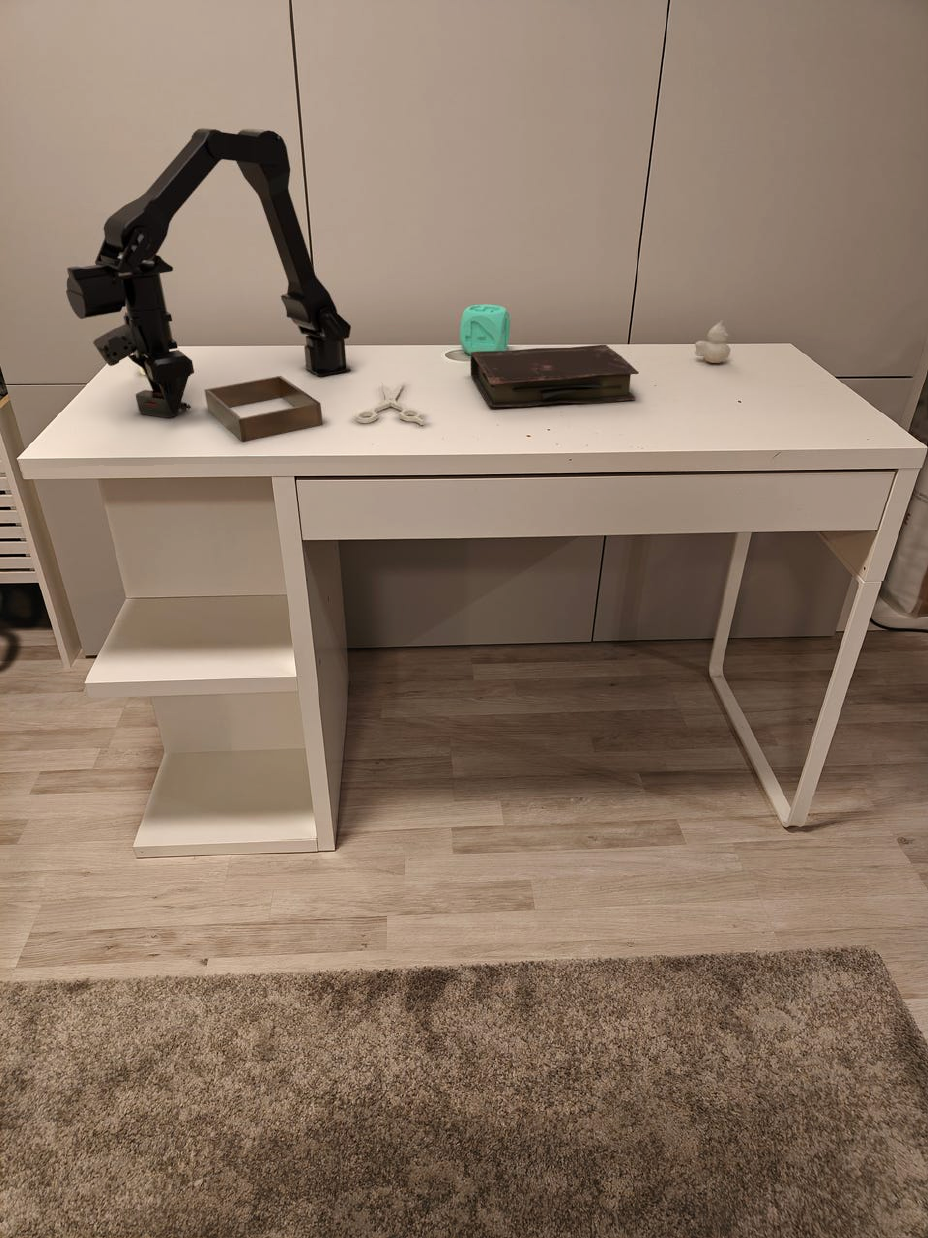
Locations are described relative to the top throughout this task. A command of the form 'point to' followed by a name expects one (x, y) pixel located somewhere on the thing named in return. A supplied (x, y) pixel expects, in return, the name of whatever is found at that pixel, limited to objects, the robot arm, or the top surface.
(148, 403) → the black dial case
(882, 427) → the top surface
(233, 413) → the desk tray
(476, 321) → the decorative dice
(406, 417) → the scissors
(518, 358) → the diary
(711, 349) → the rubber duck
